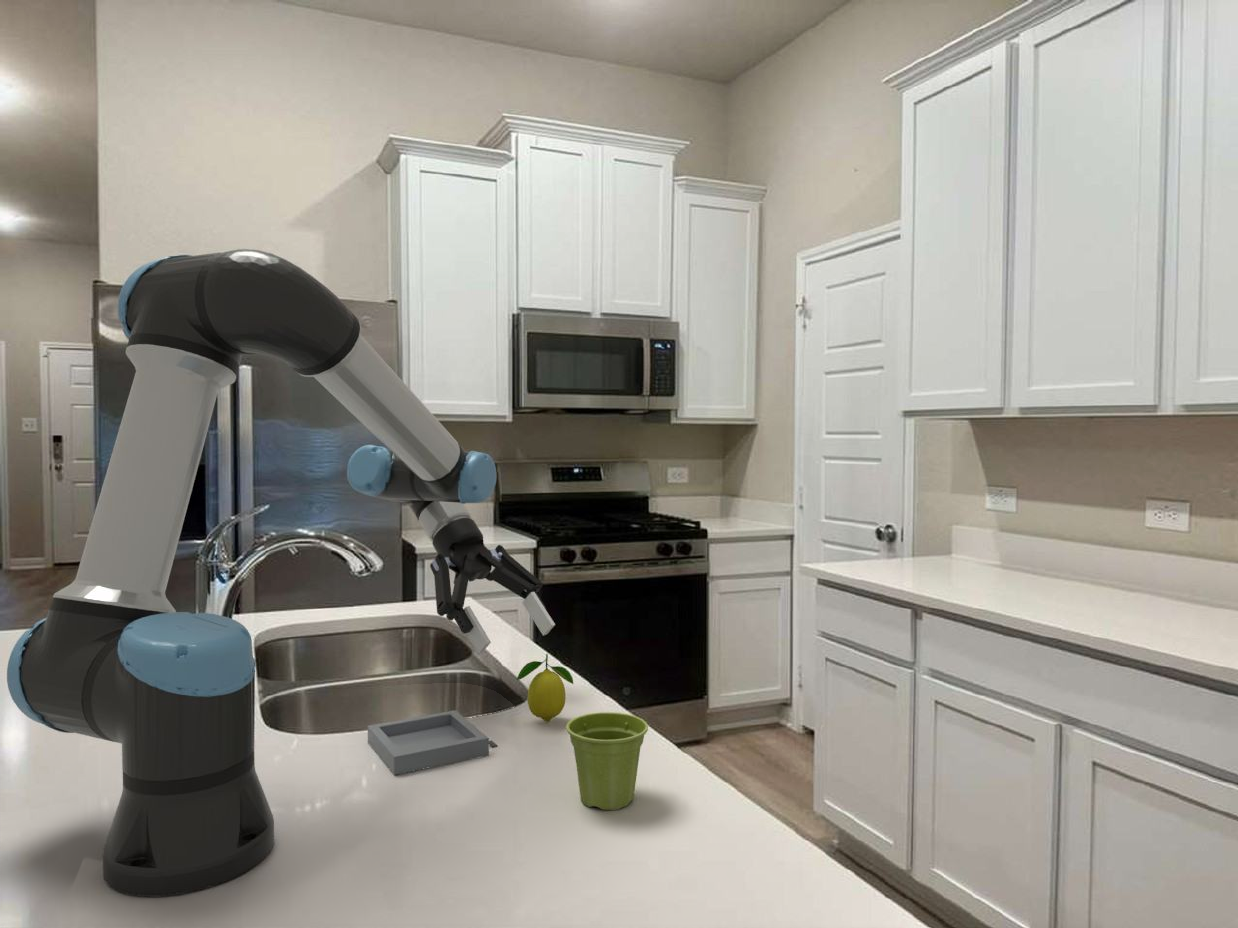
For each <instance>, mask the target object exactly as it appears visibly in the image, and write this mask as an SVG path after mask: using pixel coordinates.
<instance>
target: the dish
mask: <svg viewBox="0 0 1238 928" xmlns="http://www.w3.org/2000/svg"><path fill="white" fill-rule="evenodd" d="M483 733H484V732H483V731H481V730H480V729H479V728H477V726H475V725H474V724H472V722H470V721H469V720H468V719H467V718H465V716H463V715H462V714H461V713H459V712H458V711H457V710H455V709H454V710H448V711H443V712H438V713H433V714H432V713H431V714H426V715H421V716H420V715H419V716H415V717H409V718H403V719H398V720H392V721H388V722H386V721H385V722H382V723H376V724H370V725H369V724H368V725H367V744H368V745H369V744H370V745H371V746H372V747H371V746H370V745H369V746H370V747H371V749H372V750H373V749H374V750H375V751H376V752H375V751H374V750H373V751H374V752H375V754H376V755H377V754H378V755H379V756H380V757H379V756H378V755H377V756H378V757H379V759H380V760H381V759H382V760H381V761H382V763H384V765H385V764H386V765H387V766H386V765H385V766H386V767H387V768H388V767H389V768H390V769H389V768H388V769H389V771H390V770H391V771H392V772H391V771H390V772H391V773H392V775H394V776H397V775H396V774H399V775H402V774H401V773H403V774H406V773H405V772H408V773H412V772H411V771H413V770H417V771H420V770H419V769H422V770H424V769H423V768H427V767H432V768H436V767H439V766H440V765H441V766H444V764H446V765H449V763H450V764H455V763H460V762H463V761H469V760H473V759H477V758H482V757H487V755H488V756H489V755H490V751H489V750H490V745H489V741H490V738H489V737H488V736H487V735H486V734H485V733H484V734H483ZM454 762H455V763H454ZM427 769H428V768H427ZM413 772H414V771H413Z"/></svg>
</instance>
